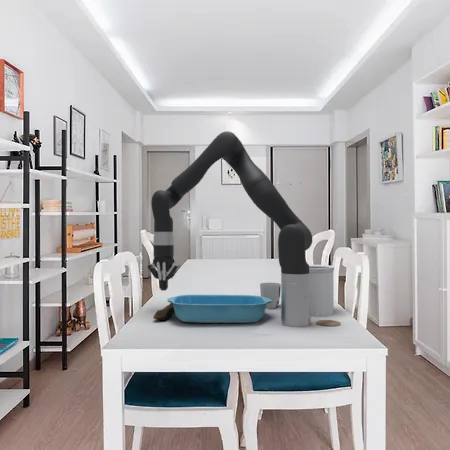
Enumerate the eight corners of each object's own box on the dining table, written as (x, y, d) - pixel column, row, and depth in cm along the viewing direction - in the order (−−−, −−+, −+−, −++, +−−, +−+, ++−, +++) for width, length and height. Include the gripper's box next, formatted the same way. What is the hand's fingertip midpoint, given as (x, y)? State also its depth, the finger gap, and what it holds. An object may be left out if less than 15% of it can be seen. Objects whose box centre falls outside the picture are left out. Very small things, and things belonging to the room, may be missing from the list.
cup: (282, 311, 160) (282, 285, 160) (260, 311, 160) (260, 285, 160) (279, 307, 168) (279, 282, 168) (259, 307, 168) (259, 282, 168)
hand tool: (171, 300, 162) (182, 300, 161) (171, 310, 162) (183, 310, 161) (151, 309, 144) (164, 309, 143) (151, 321, 144) (164, 321, 143)
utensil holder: (302, 318, 147) (302, 268, 147) (287, 310, 162) (287, 264, 162) (341, 316, 150) (341, 267, 150) (323, 309, 165) (323, 264, 165)
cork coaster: (341, 322, 141) (341, 320, 141) (339, 327, 133) (339, 325, 133) (317, 320, 144) (317, 319, 144) (313, 325, 136) (313, 324, 136)
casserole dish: (267, 311, 160) (267, 293, 161) (276, 324, 138) (275, 303, 138) (170, 312, 160) (170, 293, 160) (163, 325, 137) (163, 303, 137)
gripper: (183, 243, 159) (184, 289, 159) (153, 243, 164) (153, 288, 163) (174, 244, 152) (174, 292, 152) (143, 244, 157) (143, 290, 156)
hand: (163, 290), depth 158 cm, fingers closed
